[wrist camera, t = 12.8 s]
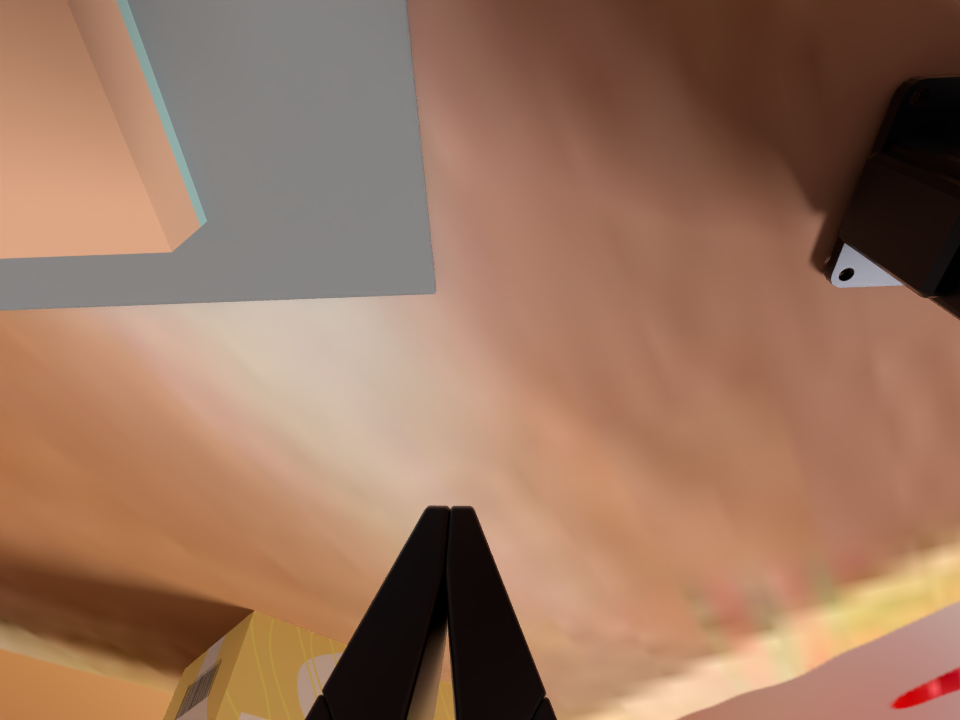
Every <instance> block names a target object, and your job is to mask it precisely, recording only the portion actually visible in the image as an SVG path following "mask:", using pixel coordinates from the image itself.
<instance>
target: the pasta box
mask: <svg viewBox="0 0 960 720" xmlns="http://www.w3.org/2000/svg"><path fill="white" fill-rule="evenodd" d="M346 647H347V645H346V644H343V643H341V642H338V641H335V640H333V639H330V638H327V637H325V636H322V635H319V634H317V633H314V632H311V631H309V630H306V629H303V628H301V627H298V626H295V625H293V624H290V623H287V622H284V621H282V620H279V619H276V618H274V617H271V616H268V615H266V614H263V613H260V612H258V611H255V610H254V611H253V612H252V613H251V614H250V615H248V616H247V617H246V618H245V619H244V620H242V621H241V622H240V623H239V624H238V625H236V626H235V627H234V628H233V629H232V630H230V631H229V632H228V633H227V634H226V635H225V636H223V637H222V638H221V639H220V640H219V641H217V642H216V643H215V644H214V645H213V646H211V647H210V648H209V649H208V650H207V651H205V652H204V653H203V654H202V655H201V656H199V657H198V658H197V659H196V660H195V661H194V662H192V663H191V664H190V665H189V666H188V667H186V668H185V670H184V672H183V674H182V677H181V679H180V681H179V684H178V686H177V688H176V691H175V693H174V695H173V698H172V700H171V702H170V705H169V707H168V709H167V712H166V714H165V716H164V719H163V720H305V718H306V716H307V714H308V713H309V711H310V709H311V707H312V706H313V704H314V702H315V700H316V699H317V697H318V696H319V695H323V693H322V689H323V687H324V685H325V683H326V682H327V680H328V678H329V676H330V675H331V673H332V671H333V669H334V668H335V666H336V664H337V662H338V661H339V659H340V657H341V655H342V654H343V652H344V650H345V648H346ZM434 720H455V718H454V705H453V691H452V684H451V683H448V682H445V681H443V680H440V683H439V689H438V695H437V702H436V708H435V715H434Z"/></svg>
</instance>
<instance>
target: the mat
mask: <svg viewBox="0 0 960 720" xmlns="http://www.w3.org/2000/svg"><path fill="white" fill-rule="evenodd" d="M127 1H128V4H129V7H130V9H131V12H132V15H133V18H134V20H135V23H136V26H137V29H138V31H139V34H140V37H141V40H142V42H143V45H144V48H145V51H146V54H147V56H148V59H149V62H150V65H151V67H152V70H153V73H154V76H155V78H156V81H157V84H158V87H159V89H160V92H161V95H162V98H163V100H164V103H165V106H166V109H167V112H168V114H169V117H170V120H171V123H172V125H173V128H174V131H175V134H176V136H177V139H178V142H179V145H180V147H181V150H182V153H183V156H184V159H185V161H186V164H187V167H188V170H189V172H190V175H191V178H192V181H193V183H194V186H195V189H196V192H197V194H198V197H199V200H200V203H201V206H202V208H203V211H204V214H205V217H206V219H207V222H206V223H205V224H204V225H202V226H201V227H200V228H199V229H198V230H197V231H196V232H194V233H193V234H192V235H191V236H190V237H189V238H188V239H186V240H185V241H184V242H183V243H182V244H181V245H180V246H178V247H177V248H176V249H175V250H174V251H173V252H167V253H140V254H113V255H86V256H59V257H32V258H5V259H0V310H26V309H52V308H78V307H105V306H131V305H157V304H183V303H210V302H236V301H262V300H289V299H315V298H341V297H368V296H394V295H420V294H435V292H436V283H435V274H434V264H433V254H432V245H431V235H430V225H429V215H428V206H427V196H426V186H425V176H424V167H423V157H422V147H421V138H420V128H419V118H418V108H417V99H416V89H415V79H414V69H413V60H412V50H411V40H410V31H409V21H408V11H407V1H406V0H127Z"/></svg>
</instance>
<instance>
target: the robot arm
mask: <svg viewBox="0 0 960 720" xmlns="http://www.w3.org/2000/svg"><path fill="white" fill-rule="evenodd" d="M919 89H920V90H921V91H920V96H919V97H918V99H917V100H916V101H915V102H914V103H912V104H910V100H911V97H912V96H913V94H914V93H915V92H916V91H918V90H919ZM847 268H848V269H847ZM844 269H847V271H846V272H845V273H844V274H842V275H840V276H839V274H840V273H841V271H843V270H844ZM825 277H826V279H827V280H828V281H829V282H830V283H832V284H833V285H834V286H836V287H841V288H844V287H870V286H897V285H905V286H906V287H908V288H909V289H911V290H912V291H913V292H915V293H916V294H918V295H919V296H921V297H924V298H929V299H930V300H931V301H933V302H934V303H936V304H937V305H939V306H940V307H942V308H943V309H944V310H946V311H947V312H949V313H950V314H952V315H953V316H954V317H956V318H957V319H959V320H960V74H950V75H929V76H916V77H912V78H910V79H908V80H907V81H905V82H903V83H902V84H901V85H900V87H899V88H898V89H897V90H896V92H895V94H894V95H893V97H892V100H891V103H890V105H889V108H888V110H887V113H886V116H885V118H884V121H883V123H882V126H881V128H880V131H879V134H878V136H877V139H876V141H875V144H874V146H873V149H872V152H871V154H870V157H869V159H868V160H867V161H866V164H865V166H864V169H863V171H862V174H861V177H860V179H859V182H858V184H857V187H856V189H855V192H854V195H853V197H852V200H851V202H850V205H849V208H848V210H847V213H846V215H845V218H844V221H843V223H842V226H841V228H840V231H839V237H838V239H837V242H836V244H835V247H834V250H833V252H832V255H831V257H830V260H829V262H828V265H827V268H826V270H825ZM447 627H448V635H449V651H450V664H451V678H452V691H453V705H454V718H455V720H557V718H556V716H555V713H554V711H553V708H552V705H551V703H550V700H549V699H548V698H547V697H546V691H545V688H544V686H543V683H542V681H541V678H540V676H539V673H538V670H537V668H536V665H535V663H534V660H533V658H532V655H531V653H530V650H529V647H528V645H527V642H526V640H525V637H524V635H523V632H522V630H521V627H520V624H519V622H518V619H517V617H516V614H515V612H514V609H513V607H512V604H511V602H510V599H509V596H508V594H507V591H506V589H505V586H504V584H503V581H502V579H501V576H500V573H499V571H498V568H497V566H496V563H495V561H494V558H493V556H492V553H491V551H490V548H489V545H488V543H487V540H486V538H485V535H484V533H483V530H482V528H481V525H480V522H479V520H478V517H477V515H476V512H475V510H474V508H473V507H471V506H453V507H451V509H450V508H449V507H448V506H428V507H427V508H426V509H425V510H424V512H423V514H422V515H421V517H420V519H419V521H418V522H417V524H416V526H415V528H414V529H413V531H412V533H411V535H410V536H409V538H408V540H407V542H406V543H405V545H404V547H403V549H402V550H401V552H400V554H399V556H398V557H397V559H396V561H395V563H394V564H393V566H392V568H391V570H390V571H389V573H388V575H387V577H386V578H385V580H384V582H383V584H382V585H381V587H380V589H379V591H378V592H377V594H376V596H375V598H374V599H373V601H372V603H371V605H370V606H369V608H368V610H367V612H366V613H365V615H364V617H363V619H362V620H361V622H360V624H359V626H358V627H357V629H356V631H355V633H354V634H353V636H352V638H351V640H350V641H349V643H348V645H347V647H346V648H345V650H344V652H343V654H342V655H341V657H340V659H339V661H338V662H337V664H336V666H335V668H334V669H333V671H332V673H331V675H330V676H329V678H328V680H327V682H326V683H325V685H324V687H323V689H322V693H323V695H319V696H318V697H317V699H316V700H315V702H314V704H313V706H312V707H311V709H310V711H309V713H308V714H307V716H306V718H305V720H434V715H435V708H436V702H437V695H438V689H439V683H440V676H441V670H442V663H443V657H444V651H445V644H446V636H447Z"/></svg>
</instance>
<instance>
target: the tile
mask: <svg viewBox="0 0 960 720" xmlns="http://www.w3.org/2000/svg"><path fill="white" fill-rule="evenodd" d="M206 222H207V219H206V217H205V214H204V211H203V208H202V206H201V203H200V200H199V197H198V194H197V192H196V189H195V186H194V183H193V181H192V178H191V175H190V172H189V170H188V167H187V164H186V161H185V159H184V156H183V153H182V150H181V147H180V145H179V142H178V139H177V136H176V134H175V131H174V128H173V125H172V123H171V120H170V117H169V114H168V112H167V109H166V106H165V103H164V100H163V98H162V95H161V92H160V89H159V87H158V84H157V81H156V78H155V76H154V73H153V70H152V67H151V65H150V62H149V59H148V56H147V54H146V51H145V48H144V45H143V42H142V40H141V37H140V34H139V31H138V29H137V26H136V23H135V20H134V18H133V15H132V12H131V9H130V7H129V4H128V1H127V0H0V259H5V258H32V257H59V256H86V255H113V254H140V253H167V252H173V251H174V250H175V249H176V248H177V247H178V246H180V245H181V244H182V243H183V242H184V241H185V240H186V239H188V238H189V237H190V236H191V235H192V234H193V233H194V232H196V231H197V230H198V229H199V228H200V227H201V226H202V225H204V224H205V223H206Z"/></svg>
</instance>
